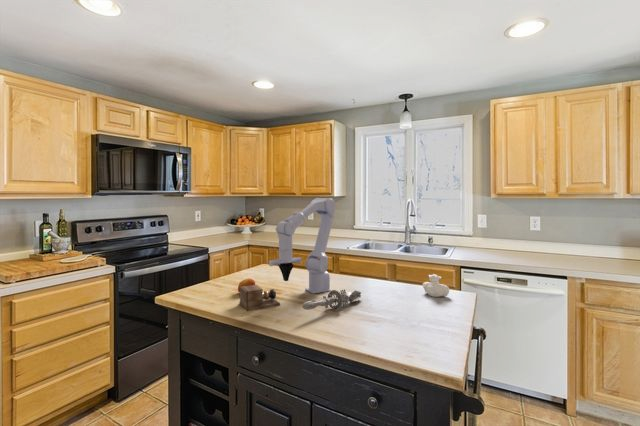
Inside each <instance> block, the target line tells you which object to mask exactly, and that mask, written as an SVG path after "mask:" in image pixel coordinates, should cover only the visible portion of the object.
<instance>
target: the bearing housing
mask: <svg viewBox="0 0 640 426" xmlns="http://www.w3.org/2000/svg"><path fill="white" fill-rule="evenodd" d="M263 293H264V290H263V288H262V287H261V286H259V285H258V284H255V285H250V286H243V287H240V292H239V299H240V300H239V305H240V306H241V307H242V308H243V309H244V310H245V312H252V311H258V310H262V309H263V310H264V309H267V308H269V309H270V308H273V307H277V306H281V303H280V301H278V300H276V298H275V299H271V298H269V299H267V300H265V299H263Z"/></svg>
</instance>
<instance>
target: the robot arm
mask: <svg viewBox="0 0 640 426" xmlns="http://www.w3.org/2000/svg"><path fill="white" fill-rule="evenodd" d="M336 206H337V205H336V203H335V200H334V199H333V198H331V197H329V198H325V197H324V198H323V197H322V198H321V197H320V198H319V197H315V198H314V199H312V200H311V202H310V203H309V204H308V205H307V206H306V207H304V208H303V209H302V210H301V211H293V213H292V215H290V216H289V217H286V218H285V220H283V221H279V222H278V224H277V225H276V227H275V231H276V234H277V238H278V259H273V260H268V266H270V267H273V266H278V268H279V270H280V273H281V274H282V275H281V276H282V280H283V281H285V282H288V281H289V278H290V275H291V272H292V270H293V268H294V264H296V263H302V262H303V261H302V259H303V258H302V257H293V235H294V233H295V232H296V229H297V228H299V227H300V226H301V225H303V224H304V223H305V220H306V219H307V218H308V217H309V216H311V215H313V213H315V212H316V214H317V215H318V216H319V217H320V218H321V220H320V225H319V228H318V233H317V236H316V241H315V244H314V248H313V250H312V251H311V252H309V254H308V256H307V258H306V260H305V264H304V265H305V268H306V269H307V272H308V287H306V288H305V290H306V291H308V292H310V293H311V294H314V295H315V294H318V293H319V294H320V293H326V292H330V291H331V289H330V285H331V284H330V282H331V281H330V279H331V278H330V277H331V276H330V274H329V272H328V271H327V270H328V267H329V263H328V262H329V257H328V256H327V254H326V251H327V245H328V242H329V238H330V235H331V230H332V226H333V222H334V214H335V211H336V208H337V207H336Z"/></svg>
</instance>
